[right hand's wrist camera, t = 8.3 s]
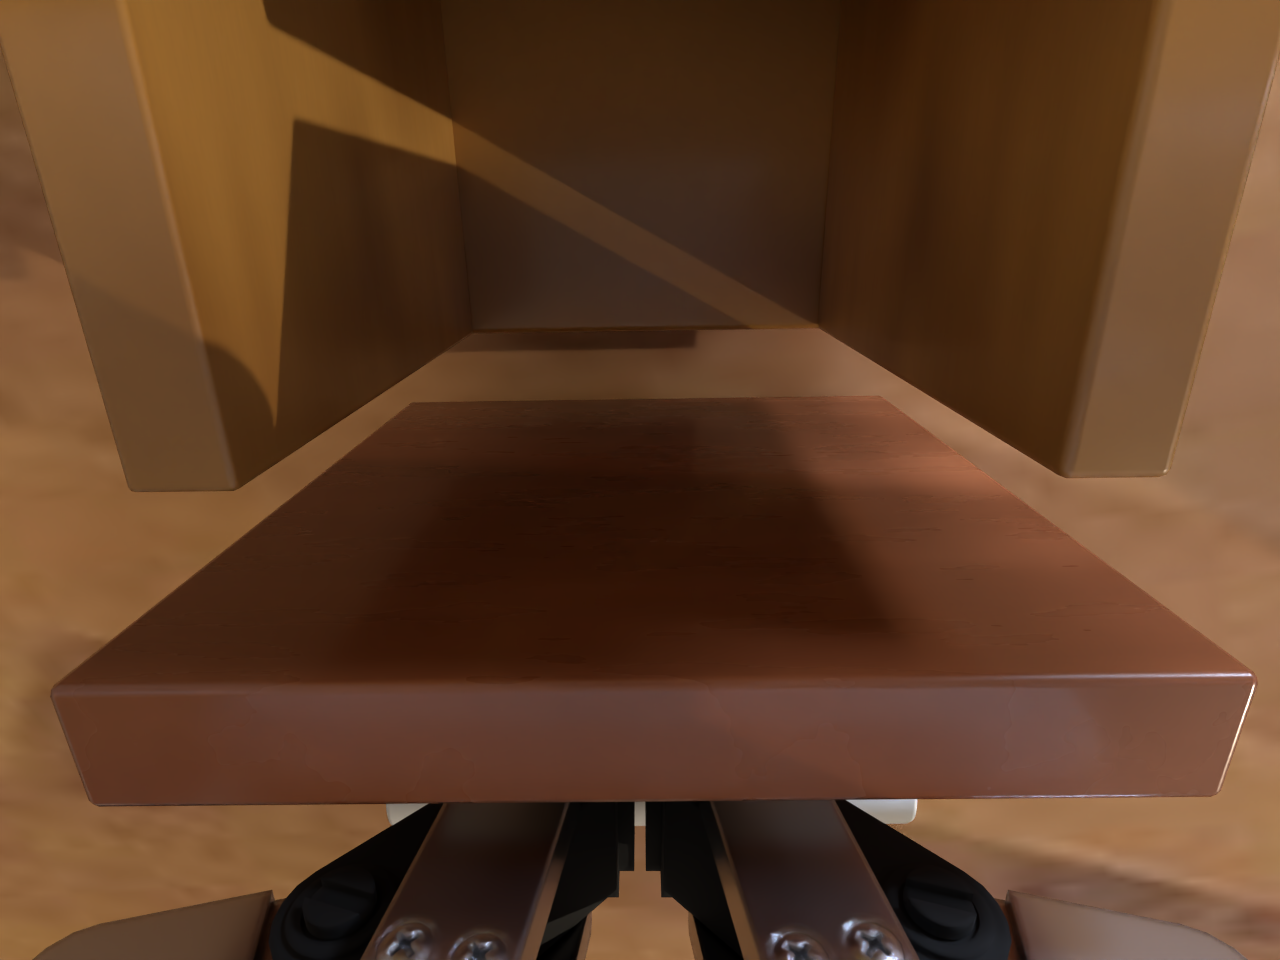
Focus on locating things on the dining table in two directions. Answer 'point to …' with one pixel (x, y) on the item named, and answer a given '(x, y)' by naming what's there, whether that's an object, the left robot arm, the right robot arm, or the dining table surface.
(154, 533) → the dining table surface
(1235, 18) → the drawer
